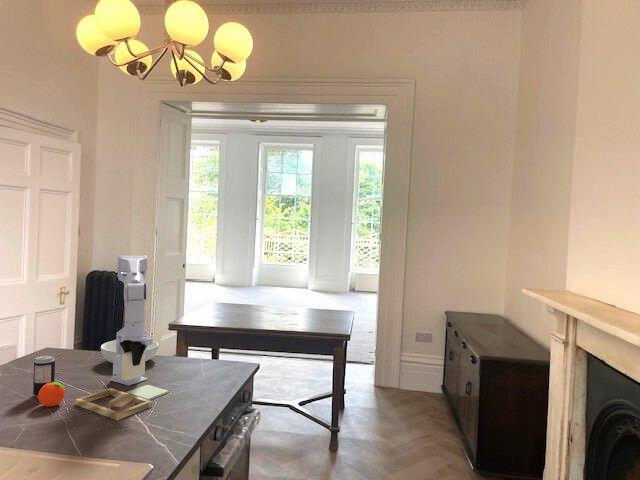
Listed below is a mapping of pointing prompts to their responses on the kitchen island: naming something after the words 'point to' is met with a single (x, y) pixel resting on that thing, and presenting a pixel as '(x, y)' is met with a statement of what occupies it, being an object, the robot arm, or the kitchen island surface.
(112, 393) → the wooden rectangular frame
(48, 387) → the clementine
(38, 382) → the beverage can
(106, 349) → the serving bowl
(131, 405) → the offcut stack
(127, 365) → the cream rectangular block
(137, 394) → the sage mat
